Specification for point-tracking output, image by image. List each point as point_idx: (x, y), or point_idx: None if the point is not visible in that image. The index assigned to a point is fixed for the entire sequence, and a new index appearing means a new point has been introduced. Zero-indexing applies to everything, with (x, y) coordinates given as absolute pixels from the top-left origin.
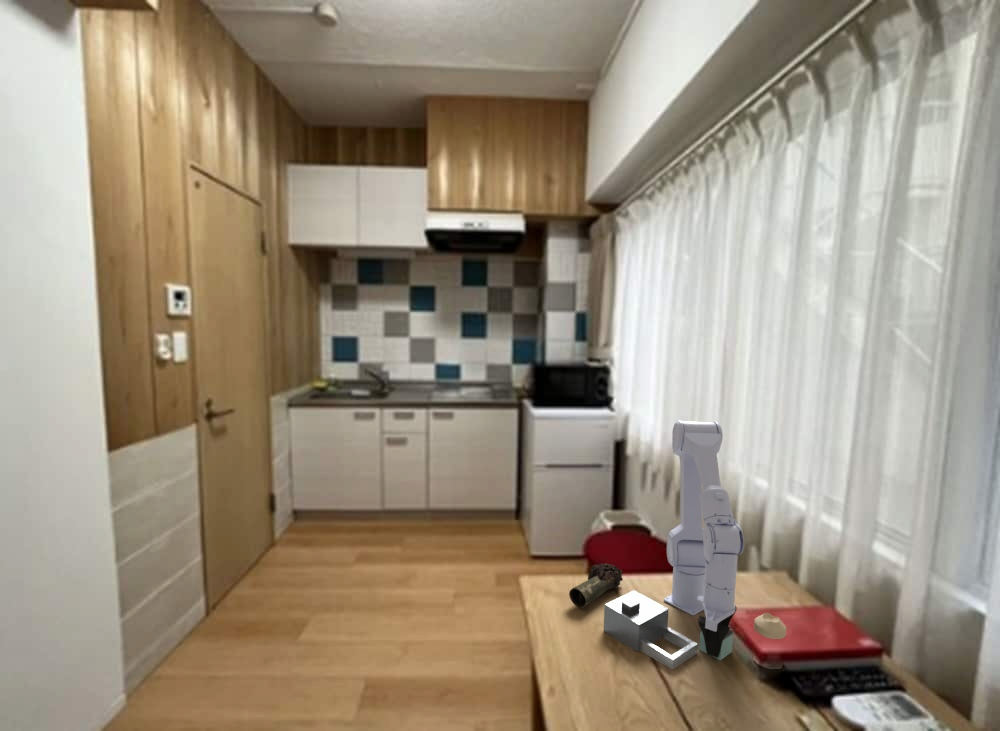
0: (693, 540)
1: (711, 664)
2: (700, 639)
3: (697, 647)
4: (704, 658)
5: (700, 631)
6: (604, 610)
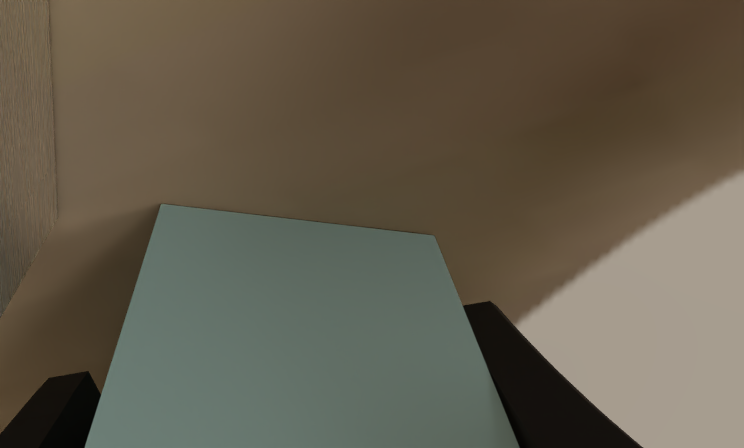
0: None
1: (62, 363)
2: (122, 330)
3: (11, 290)
4: (93, 287)
5: (92, 436)
6: None
